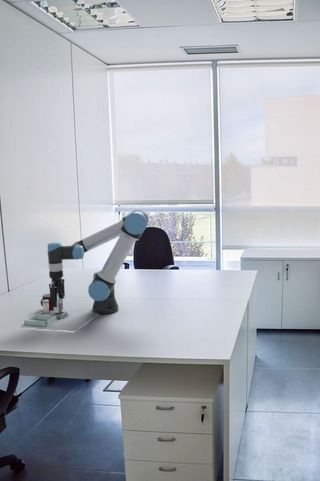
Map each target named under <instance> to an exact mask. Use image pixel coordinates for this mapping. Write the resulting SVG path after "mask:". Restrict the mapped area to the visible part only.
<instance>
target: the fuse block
mask: <svg viewBox="0 0 320 481" xmlns="http://www.w3.org/2000/svg"><path fill="white" fill-rule="evenodd" d="M37 315H51V316H57V320H65V319H67V318H68V317H69V316H71V314H69V313H68V311H64V310H62V314H61V315H58V314H56V313H54V311H49V314H43V310H42V311H40V312H38V313H37Z"/></svg>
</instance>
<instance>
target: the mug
mask: <svg viewBox="0 0 320 481" xmlns="http://www.w3.org/2000/svg"><path fill="white" fill-rule="evenodd" d="M42 300H49V311H54V307H53V301H51V300H50V293H45V294H42V298H41V300H40V305H41V307H43V303H42Z"/></svg>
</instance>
